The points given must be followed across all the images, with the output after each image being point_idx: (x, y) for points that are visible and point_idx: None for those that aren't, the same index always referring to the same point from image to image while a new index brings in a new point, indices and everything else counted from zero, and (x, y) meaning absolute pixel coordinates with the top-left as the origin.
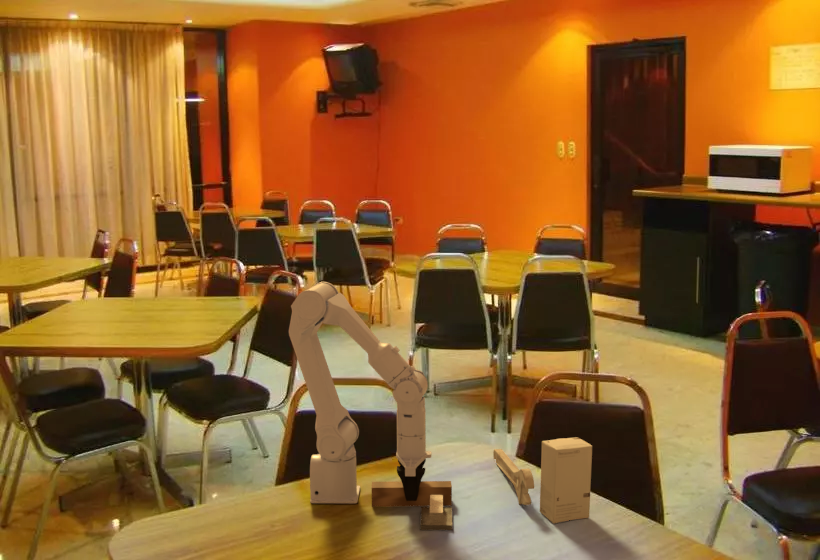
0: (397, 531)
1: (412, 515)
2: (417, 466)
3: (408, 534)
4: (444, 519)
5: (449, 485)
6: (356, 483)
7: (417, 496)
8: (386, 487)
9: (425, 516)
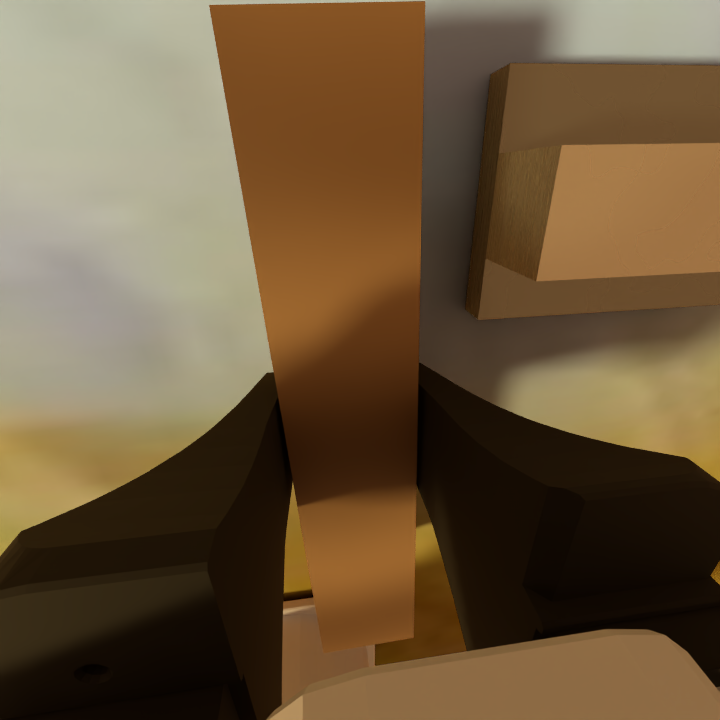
0: (664, 401)
1: (507, 353)
2: (255, 546)
3: (712, 350)
4: (710, 137)
5: (372, 39)
6: (283, 674)
7: (429, 369)
8: (412, 581)
9: (621, 281)
